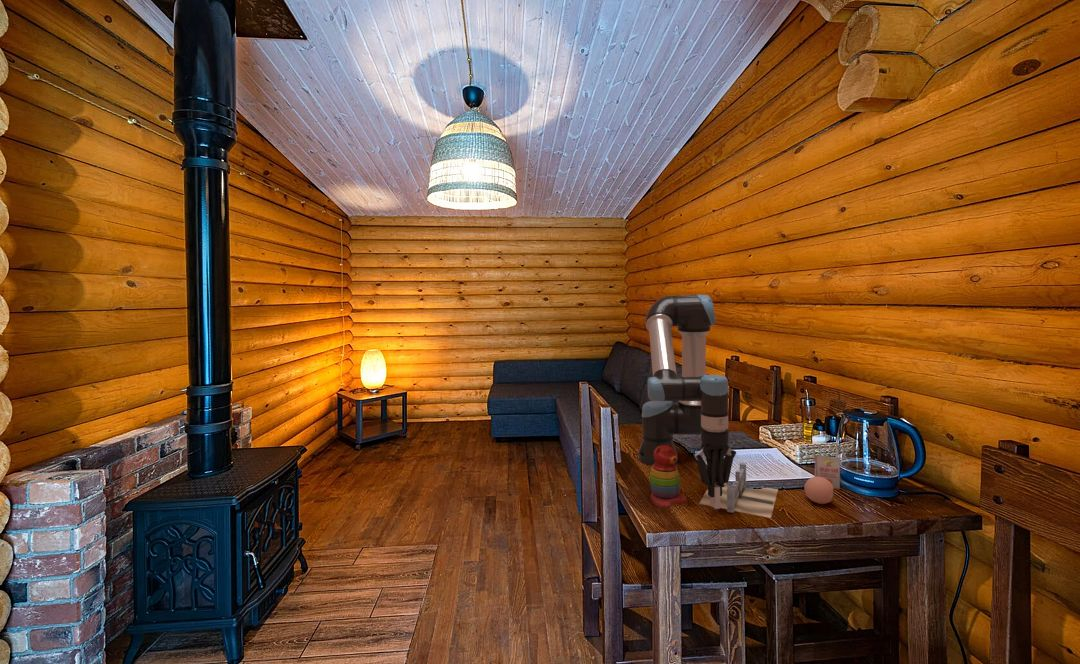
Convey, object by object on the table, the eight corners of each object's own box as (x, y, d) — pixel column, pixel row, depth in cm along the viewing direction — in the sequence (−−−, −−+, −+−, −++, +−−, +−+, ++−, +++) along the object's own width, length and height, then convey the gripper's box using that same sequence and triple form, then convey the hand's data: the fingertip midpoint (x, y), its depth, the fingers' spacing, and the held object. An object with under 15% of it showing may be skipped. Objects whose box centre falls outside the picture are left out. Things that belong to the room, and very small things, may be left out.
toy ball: (840, 506, 139) (840, 481, 138) (818, 510, 138) (818, 484, 137) (819, 495, 147) (819, 471, 146) (798, 498, 145) (798, 474, 145)
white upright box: (814, 482, 157) (814, 453, 156) (838, 485, 154) (838, 456, 153) (815, 486, 154) (815, 457, 153) (839, 489, 151) (840, 459, 150)
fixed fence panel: (740, 483, 157) (740, 459, 157) (746, 483, 156) (746, 460, 156) (734, 496, 147) (734, 472, 146) (740, 497, 146) (740, 473, 145)
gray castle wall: (733, 496, 146) (733, 475, 146) (739, 497, 145) (739, 476, 145) (726, 511, 136) (726, 489, 136) (733, 512, 135) (733, 490, 135)
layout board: (713, 480, 162) (713, 478, 162) (778, 491, 151) (778, 489, 151) (698, 505, 143) (698, 503, 143) (770, 519, 133) (770, 517, 133)
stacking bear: (663, 511, 140) (663, 453, 139) (642, 498, 149) (640, 444, 148) (690, 502, 145) (689, 447, 144) (667, 491, 154) (666, 438, 153)
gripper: (701, 434, 130) (702, 515, 132) (742, 429, 133) (742, 509, 135) (687, 427, 138) (688, 504, 139) (726, 423, 141) (726, 498, 142)
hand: (715, 506), depth 137 cm, fingers closed
